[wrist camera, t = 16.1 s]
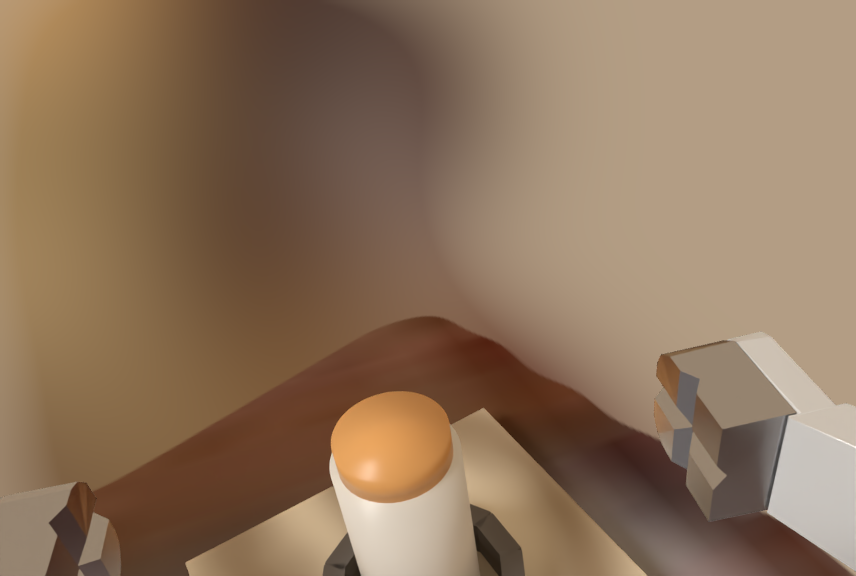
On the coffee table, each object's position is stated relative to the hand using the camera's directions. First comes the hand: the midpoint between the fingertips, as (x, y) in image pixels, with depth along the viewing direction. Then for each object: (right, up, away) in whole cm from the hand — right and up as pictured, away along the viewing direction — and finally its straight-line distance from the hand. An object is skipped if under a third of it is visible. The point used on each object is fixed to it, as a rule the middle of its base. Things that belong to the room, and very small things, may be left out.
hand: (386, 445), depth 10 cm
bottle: (+1, -12, +23) cm, 26 cm away
